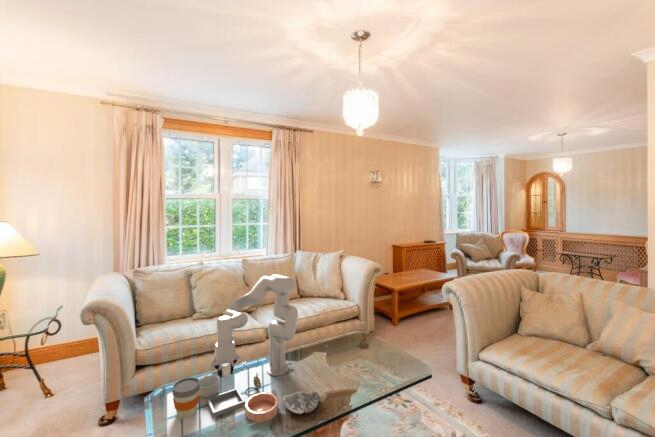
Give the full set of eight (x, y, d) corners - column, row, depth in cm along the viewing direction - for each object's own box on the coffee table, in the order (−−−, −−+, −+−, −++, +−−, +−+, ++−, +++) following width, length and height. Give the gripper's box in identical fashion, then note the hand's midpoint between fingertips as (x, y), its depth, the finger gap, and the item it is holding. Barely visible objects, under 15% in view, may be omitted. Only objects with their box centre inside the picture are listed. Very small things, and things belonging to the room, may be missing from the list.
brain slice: (285, 421, 155) (285, 416, 155) (281, 399, 172) (281, 394, 171) (324, 414, 160) (324, 409, 160) (316, 393, 177) (316, 388, 177)
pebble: (229, 371, 168) (229, 362, 168) (232, 375, 164) (231, 366, 164) (219, 374, 165) (219, 364, 165) (222, 378, 161) (222, 369, 161)
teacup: (220, 398, 171) (219, 384, 171) (198, 403, 167) (197, 388, 167) (218, 383, 184) (218, 370, 183) (198, 387, 180) (198, 374, 179)
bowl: (270, 396, 173) (270, 388, 173) (283, 414, 160) (283, 405, 160) (241, 407, 164) (241, 399, 164) (252, 427, 151) (252, 418, 151)
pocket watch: (243, 395, 174) (242, 377, 173) (250, 386, 182) (250, 369, 181) (256, 397, 172) (256, 380, 171) (263, 388, 180) (263, 371, 180)
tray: (237, 393, 176) (237, 388, 176) (245, 406, 165) (245, 401, 165) (206, 403, 167) (206, 398, 167) (213, 418, 156) (213, 412, 156)
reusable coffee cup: (195, 401, 169) (195, 374, 167) (204, 414, 159) (203, 385, 158) (170, 411, 161) (169, 383, 159) (177, 426, 151) (176, 396, 150)
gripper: (239, 333, 171) (239, 366, 173) (205, 342, 161) (206, 376, 163) (243, 339, 164) (244, 372, 166) (209, 348, 155) (210, 383, 157)
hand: (225, 374), depth 165 cm, fingers closed on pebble, 4 cm apart
